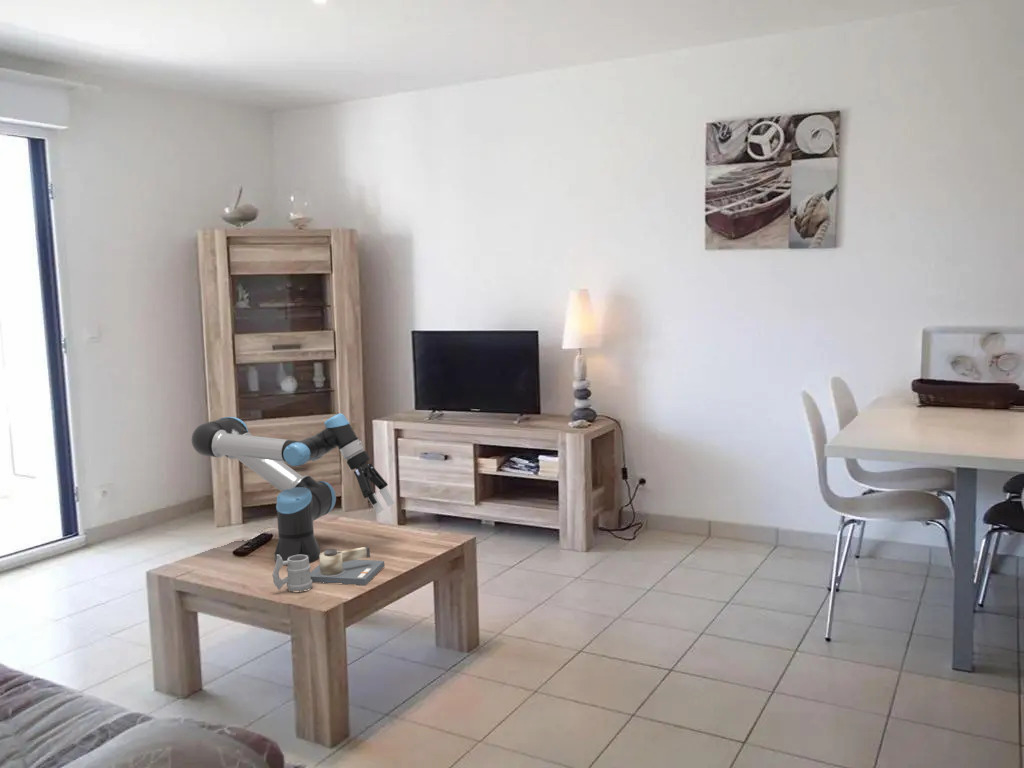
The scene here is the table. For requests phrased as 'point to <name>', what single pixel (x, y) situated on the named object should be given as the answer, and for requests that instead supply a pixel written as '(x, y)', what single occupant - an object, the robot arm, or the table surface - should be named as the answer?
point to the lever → (340, 559)
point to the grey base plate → (350, 572)
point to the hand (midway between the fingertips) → (386, 508)
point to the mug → (293, 573)
